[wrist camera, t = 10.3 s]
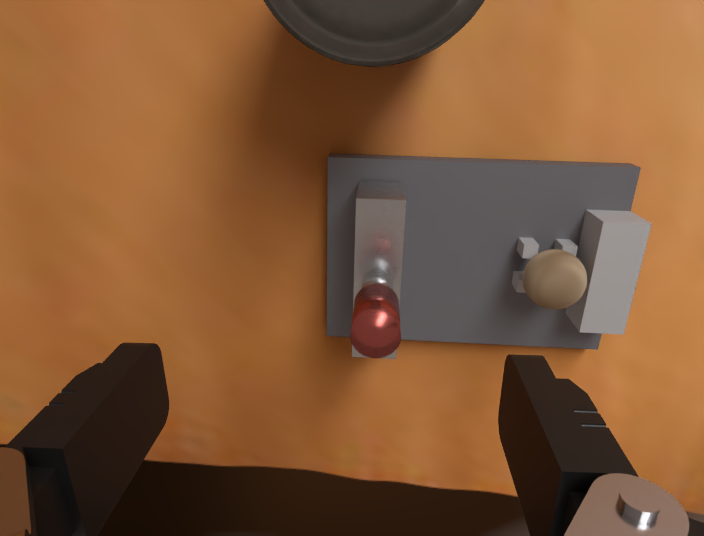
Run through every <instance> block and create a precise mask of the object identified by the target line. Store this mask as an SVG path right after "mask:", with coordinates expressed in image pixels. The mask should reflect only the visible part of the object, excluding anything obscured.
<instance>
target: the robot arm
mask: <svg viewBox="0 0 704 536" xmlns="http://www.w3.org/2000/svg"><path fill="white" fill-rule="evenodd" d="M168 411H169V397H168V391H167V385H166V379H165V373H164V367H163V361H162V354H161V350H160V348H159V346H158V345H157V344H154V343H122V344H120V345H119V346H118V347H117V348H116V349H115V350H114V351H113V352H112V353H111V354H110V355H109V357H108V358H107V359H106V360H105V361H104V362H103V363H97V364H95V365H94V366H92V367H90V368H89V369H87V370H85V371H83V372H82V373H80V374H78V375H77V376H75V377H74V378H73V379H72V380H71V381H70V382H69V383H68V384H67V385H66V386H65V387H64V388H63V389H62V392H61V393H58V394H57V395H56V396H55V397H54V398H53V399H52V400H51V401H50V402H49V406H45V407H44V408H43V409H42V410H41V411H40V412H39V413H38V414H37V415H36V416H35V417H34V418H33V419H32V420H31V421H30V422H29V423H28V424H27V425H26V426H25V427H24V428H23V429H22V430H21V431H20V432H19V433H18V434H17V435H16V436H15V437H14V438H13V439H12V440H11V441H10V442H9V443H8V444H7V445H6V446H5V448H0V536H97V534H98V533H99V531H100V530H101V528H102V526H103V525H104V523H105V521H106V520H107V518H108V517H109V515H110V513H111V512H112V510H113V508H114V507H115V505H116V504H117V502H118V500H119V499H120V497H121V495H122V494H123V492H124V490H125V489H126V487H127V486H128V484H129V482H130V481H131V479H132V478H133V476H134V474H135V473H136V471H137V469H138V468H139V466H140V464H141V463H142V461H143V460H144V458H145V456H146V455H147V453H148V452H149V450H150V448H151V447H152V445H153V443H154V442H155V440H156V439H157V437H158V435H159V434H160V432H161V430H162V429H163V427H164V425H165V423H166V420H167V416H168ZM498 423H499V434H500V439H501V443H502V446H503V449H504V453H505V456H506V459H507V462H508V466H509V469H510V472H511V475H512V478H513V482H514V485H515V488H516V491H517V495H518V498H519V501H520V504H521V507H522V511H523V514H524V517H525V520H526V524H527V526H528V530H529V533H530V536H704V523H702V522H699V521H696V520H693V519H690V518H688V516H687V514H686V512H685V510H684V509H683V507H682V506H681V505H680V503H679V502H678V501H677V500H676V499H675V498H674V497H673V496H672V495H671V494H669V493H668V492H667V491H665V490H664V489H663V488H661V487H659V486H658V485H656V484H654V483H652V482H650V481H648V480H645V479H643V478H640V477H638V475H637V473H636V472H635V470H634V468H633V467H632V465H631V464H630V462H629V460H628V459H627V457H626V456H625V454H624V452H623V451H622V449H621V447H620V446H619V444H618V443H617V441H616V439H615V438H614V436H613V435H612V433H611V431H610V430H609V428H606V423H605V422H604V420H603V418H602V417H601V415H600V414H598V413H597V409H596V407H595V405H594V404H593V402H592V401H591V399H590V397H589V396H588V394H587V393H586V392H585V391H583V390H582V389H581V388H579V387H578V386H577V385H576V384H574V383H573V382H572V381H571V380H569V379H556V378H555V376H554V374H553V372H552V370H551V368H550V367H549V365H548V363H547V361H546V359H545V358H544V357H543V356H538V355H508V356H507V357H506V361H505V366H504V374H503V382H502V390H501V398H500V406H499V416H498Z"/></svg>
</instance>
